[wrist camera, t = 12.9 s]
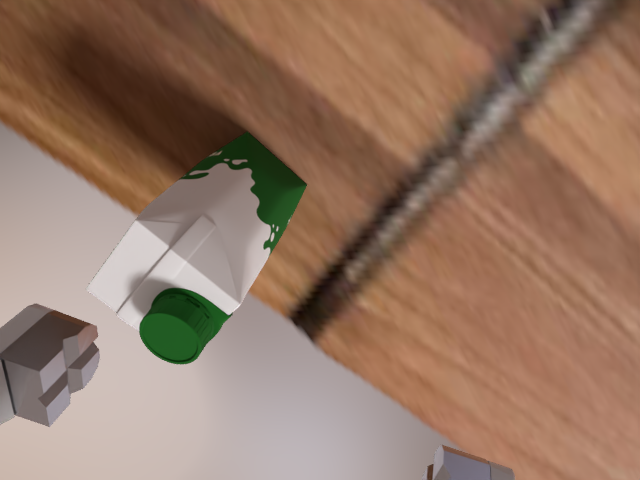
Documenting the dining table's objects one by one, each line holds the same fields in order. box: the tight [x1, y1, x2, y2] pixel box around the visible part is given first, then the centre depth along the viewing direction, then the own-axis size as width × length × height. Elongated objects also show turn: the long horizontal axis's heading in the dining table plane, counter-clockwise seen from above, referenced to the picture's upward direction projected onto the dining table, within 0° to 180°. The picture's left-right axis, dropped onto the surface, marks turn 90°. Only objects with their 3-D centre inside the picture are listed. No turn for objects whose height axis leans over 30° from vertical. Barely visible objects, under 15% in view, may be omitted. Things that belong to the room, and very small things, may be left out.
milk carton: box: [86, 132, 307, 364], centre depth 37 cm, size 9×9×20 cm
